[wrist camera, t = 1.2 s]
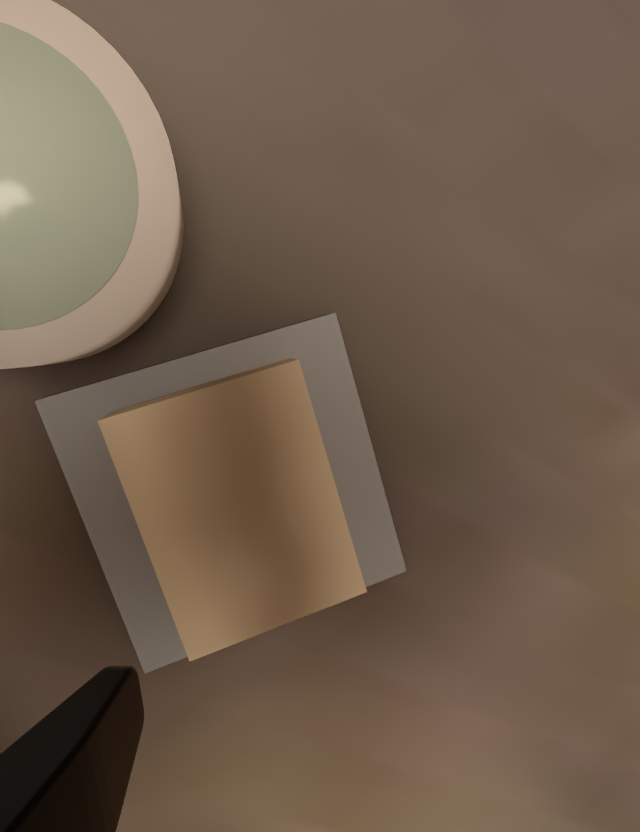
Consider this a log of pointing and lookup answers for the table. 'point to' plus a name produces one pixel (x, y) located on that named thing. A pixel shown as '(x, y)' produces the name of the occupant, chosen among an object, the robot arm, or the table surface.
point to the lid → (235, 504)
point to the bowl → (78, 191)
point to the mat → (82, 408)
